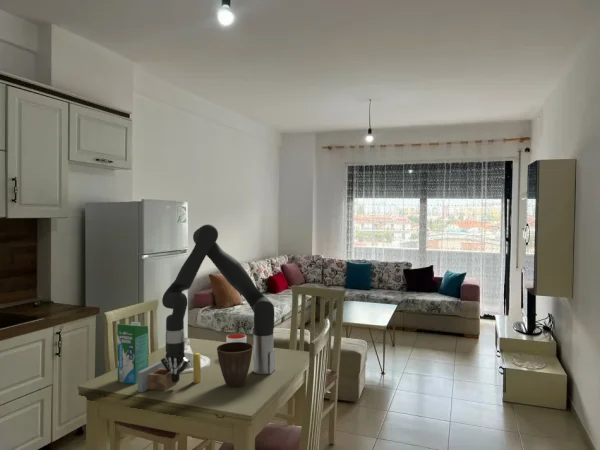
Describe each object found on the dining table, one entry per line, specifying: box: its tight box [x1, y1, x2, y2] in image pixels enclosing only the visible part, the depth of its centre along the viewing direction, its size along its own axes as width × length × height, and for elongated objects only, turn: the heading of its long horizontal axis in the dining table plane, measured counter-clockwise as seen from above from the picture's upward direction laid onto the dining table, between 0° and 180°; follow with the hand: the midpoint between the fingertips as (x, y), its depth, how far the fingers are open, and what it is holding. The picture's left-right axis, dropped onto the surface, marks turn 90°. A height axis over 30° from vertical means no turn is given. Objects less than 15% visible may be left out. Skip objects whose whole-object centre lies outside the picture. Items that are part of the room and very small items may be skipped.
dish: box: [180, 338, 211, 374], centre depth 216 cm, size 25×25×11 cm
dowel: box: [192, 352, 202, 384], centre depth 193 cm, size 3×3×12 cm
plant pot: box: [216, 342, 253, 389], centre depth 189 cm, size 15×15×16 cm
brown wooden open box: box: [147, 368, 177, 392], centre depth 188 cm, size 8×8×6 cm
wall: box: [137, 360, 166, 393], centre depth 189 cm, size 2×16×8 cm, turn 162°
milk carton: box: [116, 321, 149, 385], centre depth 196 cm, size 9×9×25 cm
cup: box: [226, 333, 247, 343], centre depth 229 cm, size 10×10×10 cm
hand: (175, 382), depth 186 cm, fingers closed
